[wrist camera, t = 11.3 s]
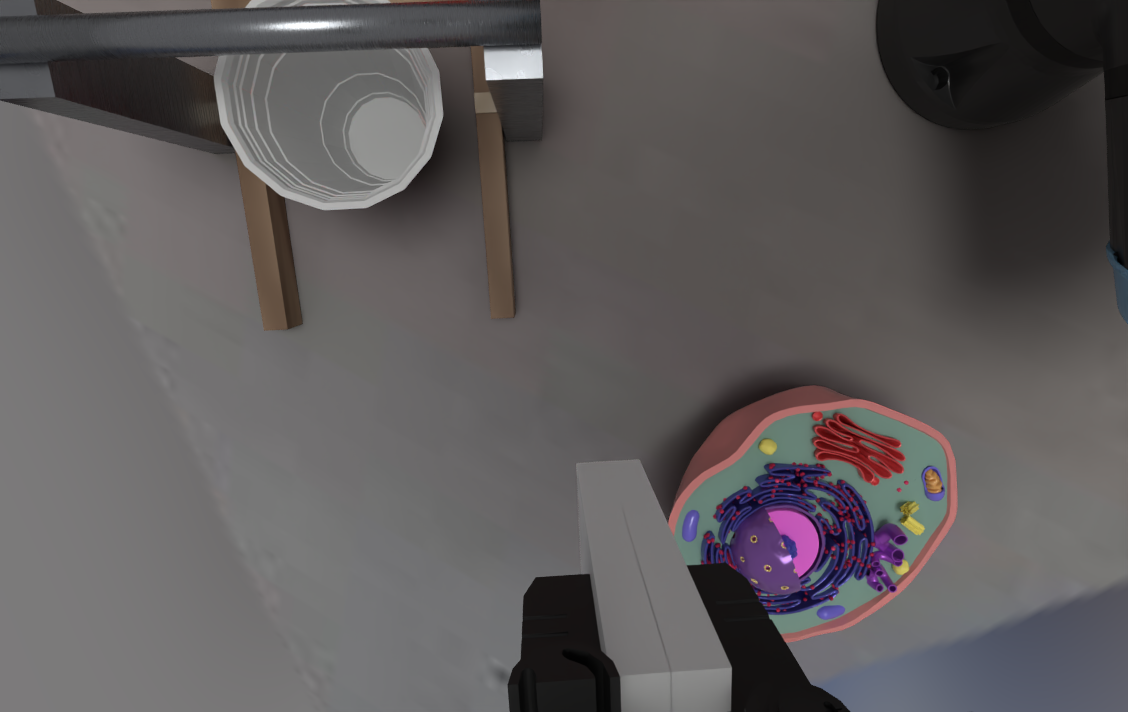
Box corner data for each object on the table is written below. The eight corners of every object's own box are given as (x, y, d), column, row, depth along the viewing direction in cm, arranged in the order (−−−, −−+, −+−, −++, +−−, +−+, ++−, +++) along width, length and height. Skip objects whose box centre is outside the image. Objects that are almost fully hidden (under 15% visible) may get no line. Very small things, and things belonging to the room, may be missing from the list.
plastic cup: (502, 153, 39) (486, 120, 28) (383, 249, 40) (320, 255, 29) (400, 16, 37) (336, -84, 26) (278, 120, 38) (162, 69, 27)
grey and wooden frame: (533, -14, 37) (528, -218, 20) (550, 310, 42) (557, 362, 25) (188, -2, 37) (-112, -205, 20) (244, 326, 41) (39, 390, 24)
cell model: (911, 514, 47) (1026, 601, 36) (687, 602, 48) (731, 713, 37) (856, 329, 43) (965, 361, 32) (614, 427, 44) (639, 491, 33)
